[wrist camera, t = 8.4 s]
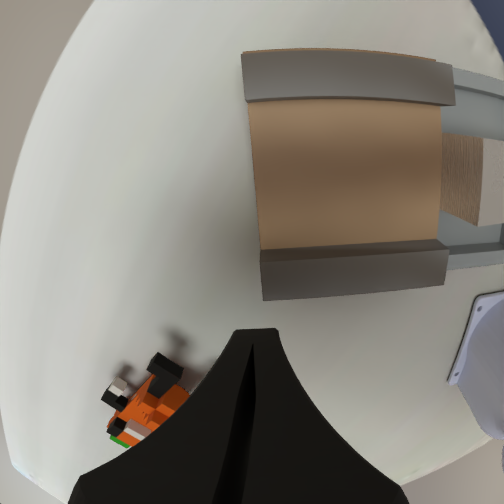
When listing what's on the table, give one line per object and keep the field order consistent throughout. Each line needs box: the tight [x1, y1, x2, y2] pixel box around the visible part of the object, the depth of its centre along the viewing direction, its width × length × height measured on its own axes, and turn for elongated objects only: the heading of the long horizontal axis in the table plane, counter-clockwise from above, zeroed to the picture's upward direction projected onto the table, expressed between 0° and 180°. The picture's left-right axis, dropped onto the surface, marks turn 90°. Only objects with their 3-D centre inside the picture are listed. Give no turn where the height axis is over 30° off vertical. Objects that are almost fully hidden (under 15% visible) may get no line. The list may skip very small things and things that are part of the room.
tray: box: [437, 67, 504, 270], centre depth 15 cm, size 12×8×2 cm
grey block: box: [440, 133, 504, 227], centre depth 12 cm, size 4×4×3 cm
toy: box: [101, 352, 190, 448], centre depth 21 cm, size 8×6×15 cm
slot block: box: [241, 48, 456, 301], centre depth 14 cm, size 12×10×4 cm
